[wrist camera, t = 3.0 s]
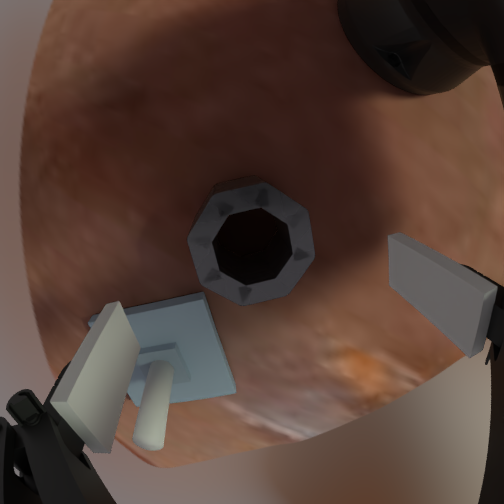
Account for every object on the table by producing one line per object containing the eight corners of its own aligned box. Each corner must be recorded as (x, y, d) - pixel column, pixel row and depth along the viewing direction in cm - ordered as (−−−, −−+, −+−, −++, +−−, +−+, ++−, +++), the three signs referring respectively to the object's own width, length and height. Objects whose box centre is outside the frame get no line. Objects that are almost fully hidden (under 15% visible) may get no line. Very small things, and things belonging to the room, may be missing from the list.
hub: (187, 191, 24) (176, 203, 18) (282, 169, 24) (301, 174, 18) (211, 279, 26) (209, 313, 21) (299, 258, 26) (319, 286, 21)
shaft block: (92, 315, 26) (45, 391, 15) (203, 291, 27) (196, 379, 16) (138, 397, 30) (120, 475, 19) (235, 383, 31) (244, 470, 20)
